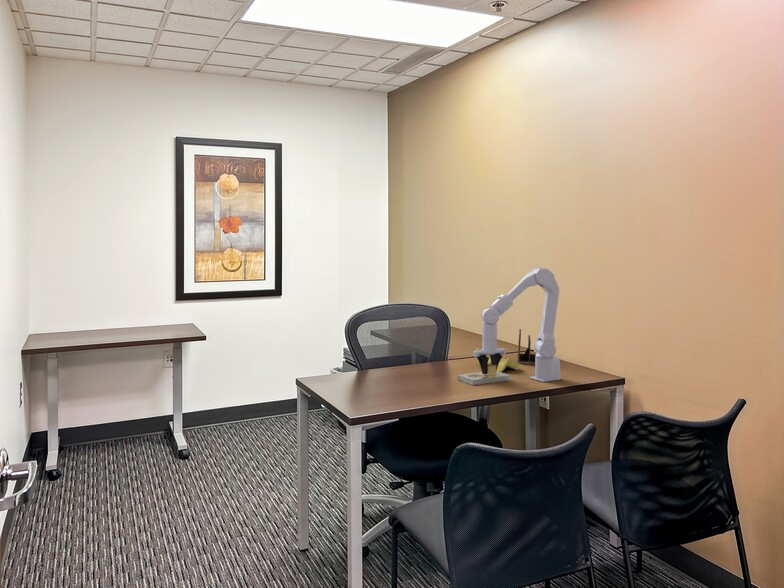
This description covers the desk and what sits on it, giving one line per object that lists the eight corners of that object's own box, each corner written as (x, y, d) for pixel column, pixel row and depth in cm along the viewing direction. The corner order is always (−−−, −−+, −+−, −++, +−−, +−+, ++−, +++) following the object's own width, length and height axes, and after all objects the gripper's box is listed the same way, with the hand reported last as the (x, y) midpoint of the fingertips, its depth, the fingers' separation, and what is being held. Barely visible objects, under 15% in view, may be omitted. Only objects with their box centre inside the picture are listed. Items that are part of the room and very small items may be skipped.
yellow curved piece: (521, 364, 263) (507, 356, 257) (515, 380, 262) (500, 373, 256) (488, 354, 279) (474, 346, 273) (482, 369, 278) (468, 362, 272)
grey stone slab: (494, 375, 252) (494, 370, 252) (510, 380, 243) (510, 375, 243) (457, 379, 244) (457, 374, 243) (472, 385, 235) (472, 379, 235)
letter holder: (517, 364, 276) (518, 332, 275) (517, 356, 295) (518, 326, 294) (540, 365, 274) (541, 333, 273) (539, 356, 293) (539, 327, 292)
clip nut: (489, 372, 247) (490, 361, 247) (496, 374, 244) (496, 363, 243) (481, 373, 245) (481, 362, 245) (487, 375, 242) (488, 364, 241)
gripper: (498, 336, 250) (497, 369, 251) (468, 338, 243) (468, 373, 244) (509, 338, 244) (508, 372, 245) (479, 341, 237) (478, 376, 238)
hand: (489, 373), depth 244 cm, fingers closed on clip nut, 4 cm apart
